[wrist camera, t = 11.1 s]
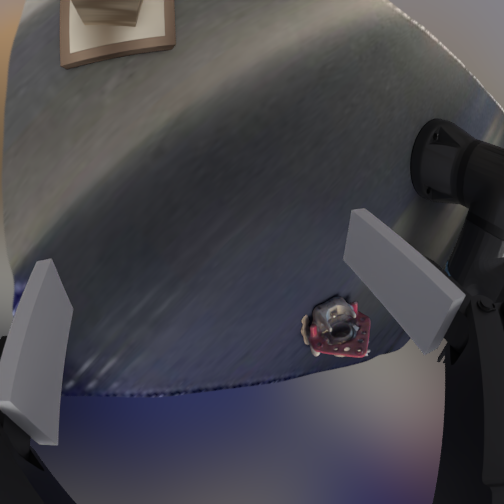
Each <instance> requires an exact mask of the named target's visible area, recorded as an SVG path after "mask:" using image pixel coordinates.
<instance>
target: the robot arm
mask: <svg viewBox="0 0 504 504" xmlns="http://www.w3.org/2000/svg"><path fill="white" fill-rule="evenodd" d="M411 176H412V181H413V185H414V187H415V189H416V191H417V193H418V194H419V195H420V196H422V197H424V198H426V199H428V200H430V201H433V202H441V203H454V204H461V205H463V206H465V207H467V208H469V211H468V214H467V216H466V219H465V222H464V224H463V227H462V230H461V232H460V235H459V237H458V240H457V242H456V244H455V247H454V249H453V251H452V254H451V256H450V258H449V260H448V261H447V263H446V268H445V271H444V270H442V268H441V267H440V266H439V265H438V264H437V263H435V262H434V261H433V260H431V259H429V258H427V257H425V256H423V255H421V254H420V253H419V252H418V251H417V250H416V249H414V248H413V247H412V246H411V245H410V244H409V243H407V242H406V241H405V240H404V239H403V238H401V237H400V236H399V235H398V234H396V233H395V232H394V231H393V230H392V229H390V228H389V227H388V226H387V225H385V224H384V223H383V222H382V221H380V220H379V219H378V218H376V217H375V216H374V215H373V214H371V213H370V212H369V211H367V210H366V209H365V208H363V209H355V210H351V216H350V223H349V229H348V235H347V241H346V246H345V252H344V257H343V260H344V261H345V262H346V263H347V264H348V266H349V267H350V268H351V269H352V270H353V271H354V272H355V273H356V274H357V276H358V277H359V278H360V279H361V280H362V281H363V282H364V283H365V285H366V286H367V287H368V288H369V289H370V290H371V291H372V293H373V294H374V295H375V296H376V297H377V298H378V300H379V301H380V302H381V303H382V304H383V305H384V307H385V308H386V309H387V310H388V311H389V312H390V314H391V315H392V316H393V317H394V318H395V320H396V321H397V322H398V323H399V324H400V326H401V327H402V328H403V329H404V330H405V332H406V333H407V334H408V335H409V336H410V338H411V339H412V340H413V341H414V342H415V344H416V345H417V346H418V347H419V349H420V350H421V351H422V353H423V354H424V355H426V354H427V353H430V352H431V351H433V350H435V349H437V348H438V346H439V345H440V343H441V341H442V340H443V338H445V339H446V341H447V344H446V346H445V347H444V349H443V351H442V353H441V354H440V356H439V357H438V361H437V362H440V361H441V359H442V358H443V356H445V360H444V361H443V363H445V411H444V412H445V413H444V427H443V438H442V449H441V457H440V464H439V471H438V478H437V483H436V490H435V494H434V499H433V503H432V504H504V148H501V147H498V146H495V145H492V144H489V143H486V142H483V141H480V140H477V139H475V138H474V137H472V136H471V135H469V134H468V133H467V132H465V131H464V130H463V129H461V128H460V127H458V126H457V125H455V124H454V123H452V122H450V121H446V120H442V119H434V120H431V121H430V122H428V123H427V124H426V125H425V126H424V127H423V128H422V130H421V131H420V133H419V135H418V137H417V139H416V142H415V145H414V148H413V153H412V159H411ZM72 314H73V307H72V305H71V303H70V301H69V298H68V296H67V294H66V292H65V289H64V287H63V285H62V282H61V280H60V278H59V275H58V273H57V270H56V268H55V265H54V263H53V260H52V259H47V260H42V261H37V262H36V264H35V267H34V269H33V271H32V273H31V276H30V278H29V280H28V283H27V285H26V287H25V290H24V292H23V295H22V297H21V300H20V302H19V305H18V308H17V310H16V313H15V316H14V319H13V321H12V325H11V327H10V330H9V333H8V336H2V337H1V339H0V504H76V503H75V502H74V501H73V499H72V498H71V497H70V496H69V495H68V494H67V492H66V491H65V490H64V489H63V487H62V486H61V485H60V484H59V483H58V481H57V480H56V479H55V477H54V476H53V475H52V474H51V472H50V471H49V470H48V468H47V467H46V466H45V464H44V463H43V461H42V460H41V459H40V457H39V456H38V454H37V453H36V451H35V450H34V449H33V448H32V447H31V446H30V437H31V438H32V439H33V440H35V441H36V442H37V443H38V444H40V445H58V429H59V410H60V397H61V387H62V377H63V369H64V361H65V354H66V348H67V341H68V335H69V330H70V324H71V319H72Z"/></svg>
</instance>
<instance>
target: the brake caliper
mask: <svg viewBox="0 0 504 504" xmlns="http://www.w3.org/2000/svg"><path fill="white" fill-rule="evenodd" d="M357 308H358V305H357V302H356V301H355V302H352V303H347V302H346V301H345V300H344V299H343V298H342V297H340V296H339V297H333V298H332V299H330V300H328V301H327V302H325V303H323V304H320V305H318V306H317V307H315V308H314V310H313V321H312V324H311V326H310V327H309V326H308V324H309V322H310V320H309V319H308V316H307V315H305V316H304V317H303V319H302V321H301V322H302V323H303V326H302V328H301V333H302V335H303V338H304V342H305V344H307V345H310V347H311V352H312V354H313V355H314V356H318V355H319V354H320V352H321V353H326V354H333V355H334V356H337V357H344V356H348V357H364V356H368V354H367V353H369V352H370V350H369V349H368V343H369V341H368V340H369V331H370V319H369V317H368V316H366V315H364V314H362V313H361V312H359V311H357ZM359 327H360V329H359V330H358V328H359ZM357 330H358V331H357ZM363 332H365V333H364V334H363ZM359 339H363V341H358V340H359Z"/></svg>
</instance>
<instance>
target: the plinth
mask: <svg viewBox="0 0 504 504" xmlns="http://www.w3.org/2000/svg"><path fill="white" fill-rule="evenodd" d="M175 45H176V37H175V11H174V0H143V3H142V6H141V9H140V13H139V16H138V20H137V23H136V27H130V26H113V25H84V23H83V22H82V20H81V18H80V16H79V14H78V13H77V11H76V9H75V7H74V5H73V3H72V1H71V0H60V61H61V67H63V68H65V69H70V68H74V67H77V66H81V65H85V64H89V63H94V62H98V61H103V60H107V59H112V58H117V57H123V56H128V55H134V54H140V53H147V52H154V51H162V50H171V49H172V48H173V47H174V46H175Z"/></svg>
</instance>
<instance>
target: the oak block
mask: <svg viewBox="0 0 504 504" xmlns="http://www.w3.org/2000/svg"><path fill="white" fill-rule="evenodd" d="M71 1H72V3H73V5H74V7H75V9H76V11H77V13H78V14H79V16H80V18H81V20H82V22H83V23H84V25H113V26H130V27H136V23H137V20H138V16H139V13H140V9H141V6H142V3H143V0H71Z"/></svg>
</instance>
